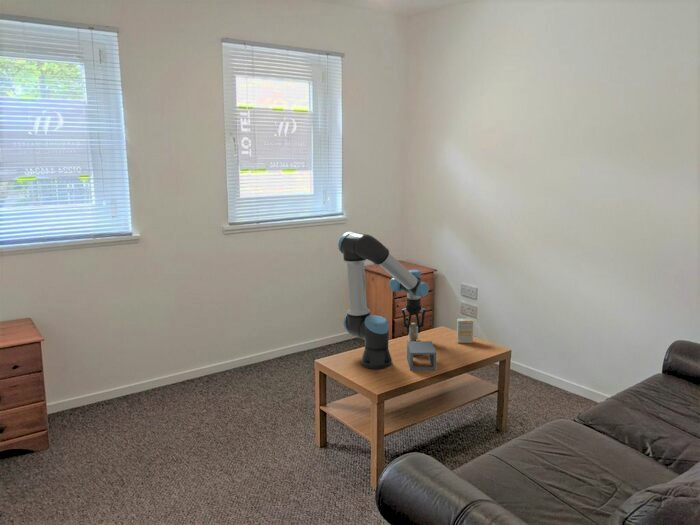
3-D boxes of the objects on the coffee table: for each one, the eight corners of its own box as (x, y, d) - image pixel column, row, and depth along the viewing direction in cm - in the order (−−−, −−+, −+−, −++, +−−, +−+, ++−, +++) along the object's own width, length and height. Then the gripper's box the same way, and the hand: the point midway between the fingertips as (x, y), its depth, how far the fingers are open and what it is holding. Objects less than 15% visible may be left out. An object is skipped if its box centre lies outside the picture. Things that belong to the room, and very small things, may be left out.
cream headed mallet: (412, 356, 284) (412, 337, 282) (407, 339, 308) (407, 322, 306) (423, 356, 283) (424, 337, 281) (418, 339, 308) (418, 322, 306)
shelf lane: (410, 370, 266) (410, 352, 264) (406, 358, 281) (407, 341, 279) (436, 370, 266) (436, 352, 264) (431, 357, 281) (431, 341, 279)
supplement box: (471, 340, 306) (472, 318, 303) (472, 343, 301) (473, 320, 298) (456, 340, 307) (457, 317, 304) (457, 343, 302) (458, 320, 299)
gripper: (399, 299, 298) (399, 341, 303) (429, 299, 298) (428, 340, 303) (398, 296, 306) (397, 336, 310) (427, 296, 306) (427, 336, 310)
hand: (413, 338), depth 307 cm, fingers closed on cream headed mallet, 3 cm apart
